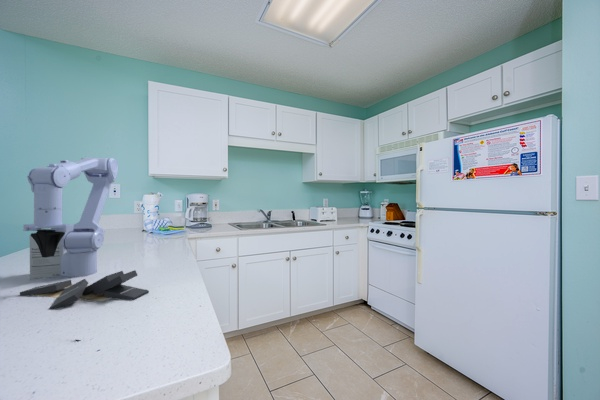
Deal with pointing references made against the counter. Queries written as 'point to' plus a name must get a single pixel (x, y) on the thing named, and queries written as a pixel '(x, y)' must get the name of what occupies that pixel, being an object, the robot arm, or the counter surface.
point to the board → (89, 296)
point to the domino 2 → (70, 294)
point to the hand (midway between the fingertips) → (48, 256)
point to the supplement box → (45, 261)
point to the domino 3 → (101, 282)
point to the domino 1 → (46, 288)
